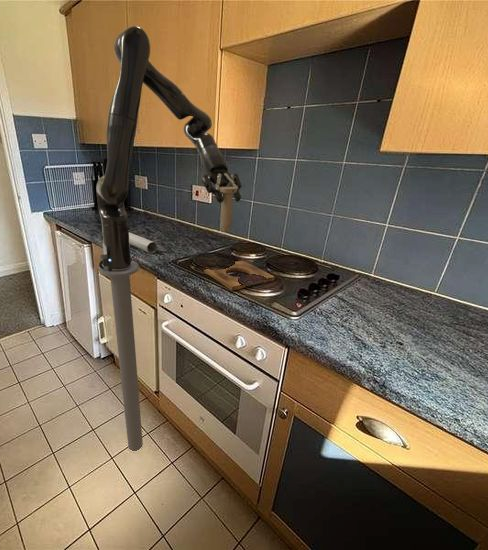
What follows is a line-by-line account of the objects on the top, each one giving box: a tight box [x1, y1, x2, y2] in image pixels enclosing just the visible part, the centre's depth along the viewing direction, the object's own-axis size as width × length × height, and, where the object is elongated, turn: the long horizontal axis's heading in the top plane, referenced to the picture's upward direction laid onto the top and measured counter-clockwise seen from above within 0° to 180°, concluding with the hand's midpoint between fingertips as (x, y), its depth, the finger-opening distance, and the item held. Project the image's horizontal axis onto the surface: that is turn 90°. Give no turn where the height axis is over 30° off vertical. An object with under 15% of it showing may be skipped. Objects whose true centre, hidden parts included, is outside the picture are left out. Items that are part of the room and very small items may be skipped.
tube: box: [129, 231, 158, 255], centre depth 138 cm, size 5×5×25 cm
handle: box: [219, 186, 237, 233], centre depth 104 cm, size 5×6×15 cm
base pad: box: [203, 260, 275, 292], centre depth 108 cm, size 18×18×2 cm
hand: (230, 200), depth 101 cm, fingers closed on handle, 6 cm apart
